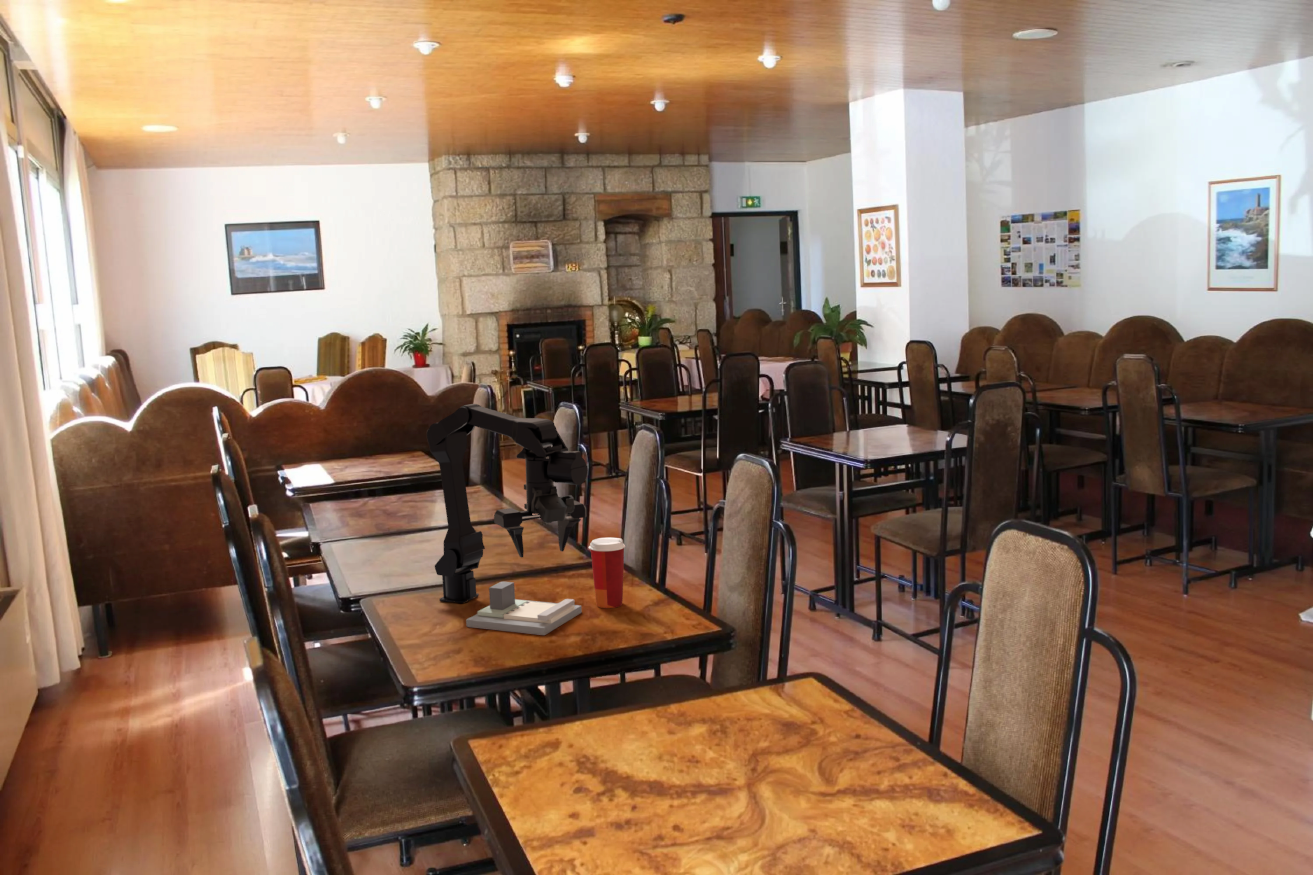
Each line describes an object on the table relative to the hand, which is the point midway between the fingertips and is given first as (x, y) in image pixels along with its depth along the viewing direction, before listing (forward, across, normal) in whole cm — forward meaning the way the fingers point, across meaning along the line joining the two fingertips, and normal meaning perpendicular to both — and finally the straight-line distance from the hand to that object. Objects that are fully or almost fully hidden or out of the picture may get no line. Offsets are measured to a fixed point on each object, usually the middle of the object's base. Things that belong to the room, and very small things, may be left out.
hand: (541, 554), depth 231 cm
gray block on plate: (+11, -8, +2) cm, 14 cm away
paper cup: (+13, +14, -3) cm, 19 cm away
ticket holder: (+13, -5, -2) cm, 14 cm away
